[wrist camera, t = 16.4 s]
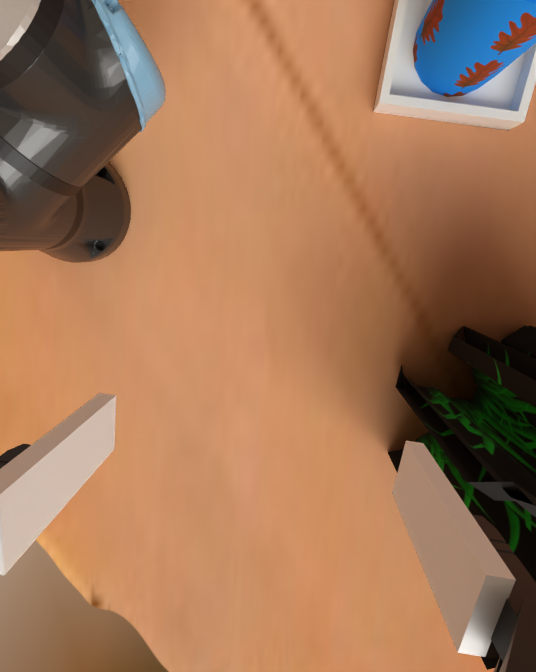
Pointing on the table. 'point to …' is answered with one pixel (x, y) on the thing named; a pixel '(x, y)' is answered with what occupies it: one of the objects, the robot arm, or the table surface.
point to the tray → (420, 102)
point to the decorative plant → (488, 438)
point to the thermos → (471, 42)
